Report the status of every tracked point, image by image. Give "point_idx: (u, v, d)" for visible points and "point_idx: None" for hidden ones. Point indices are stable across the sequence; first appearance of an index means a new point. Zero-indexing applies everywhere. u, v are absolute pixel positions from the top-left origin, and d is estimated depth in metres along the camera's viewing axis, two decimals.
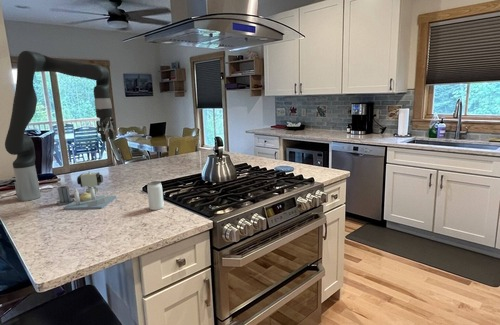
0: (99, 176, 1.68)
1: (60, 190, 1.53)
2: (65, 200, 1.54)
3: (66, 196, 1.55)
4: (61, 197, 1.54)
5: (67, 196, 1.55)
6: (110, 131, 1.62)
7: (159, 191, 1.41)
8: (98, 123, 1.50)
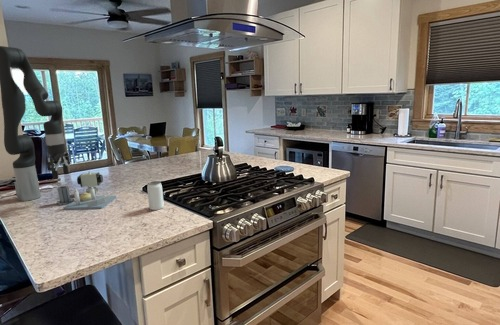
0: (99, 176, 1.68)
1: (60, 190, 1.53)
2: (65, 200, 1.54)
3: (66, 196, 1.55)
4: (61, 197, 1.54)
5: (67, 196, 1.55)
6: (64, 166, 1.57)
7: (159, 191, 1.41)
8: (48, 160, 1.45)
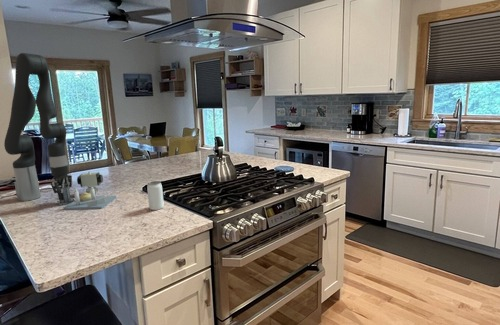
0: (99, 176, 1.68)
1: (60, 190, 1.53)
2: (65, 200, 1.54)
3: (66, 196, 1.55)
4: None
5: (67, 196, 1.55)
6: None
7: (159, 191, 1.41)
8: (53, 185, 1.48)
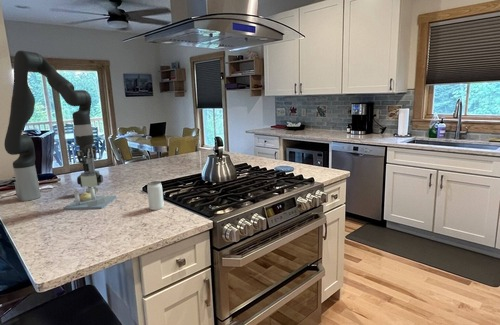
0: (99, 176, 1.68)
1: None
2: (90, 171, 1.48)
3: (91, 167, 1.48)
4: None
5: (92, 167, 1.49)
6: None
7: (159, 191, 1.41)
8: (78, 154, 1.42)
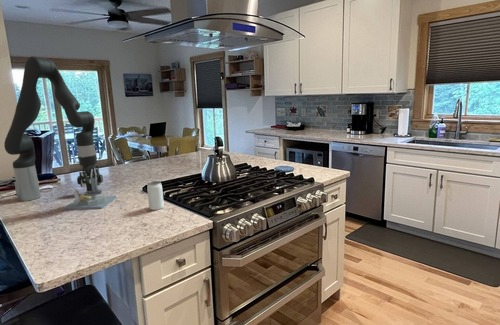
0: (99, 176, 1.68)
1: None
2: (93, 191, 1.50)
3: (94, 187, 1.50)
4: None
5: (95, 187, 1.51)
6: None
7: (159, 191, 1.41)
8: (82, 175, 1.44)
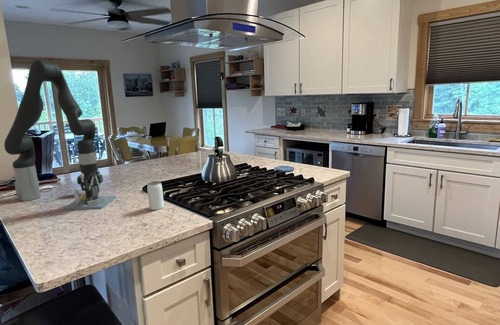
0: None
1: None
2: (94, 199, 1.51)
3: (95, 195, 1.51)
4: None
5: (96, 195, 1.52)
6: None
7: (159, 191, 1.41)
8: (82, 181, 1.44)
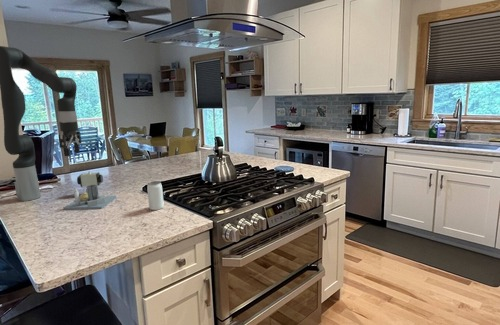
0: (99, 176, 1.68)
1: (89, 189, 1.50)
2: (94, 199, 1.51)
3: (95, 195, 1.51)
4: (90, 196, 1.50)
5: (96, 195, 1.52)
6: (76, 144, 1.56)
7: (159, 191, 1.41)
8: (60, 137, 1.44)
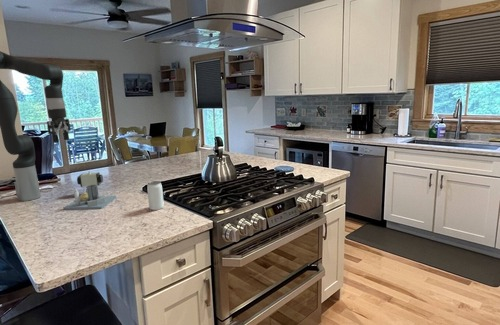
0: (99, 176, 1.68)
1: (89, 189, 1.50)
2: (94, 199, 1.51)
3: (95, 195, 1.51)
4: (90, 196, 1.50)
5: (96, 195, 1.52)
6: (65, 132, 1.58)
7: (159, 191, 1.41)
8: (49, 124, 1.46)
